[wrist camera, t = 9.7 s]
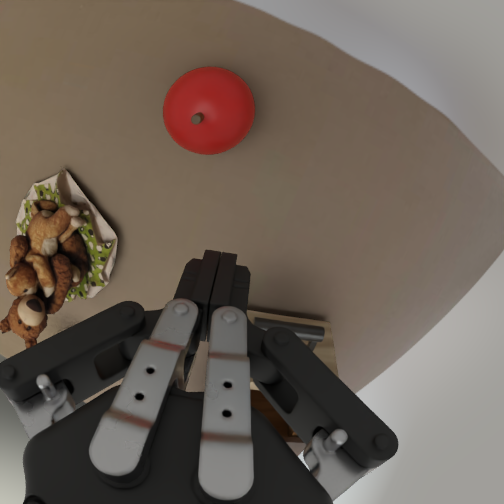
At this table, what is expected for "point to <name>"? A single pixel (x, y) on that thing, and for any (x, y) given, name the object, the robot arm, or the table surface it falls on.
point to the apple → (208, 110)
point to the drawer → (312, 335)
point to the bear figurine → (55, 254)
